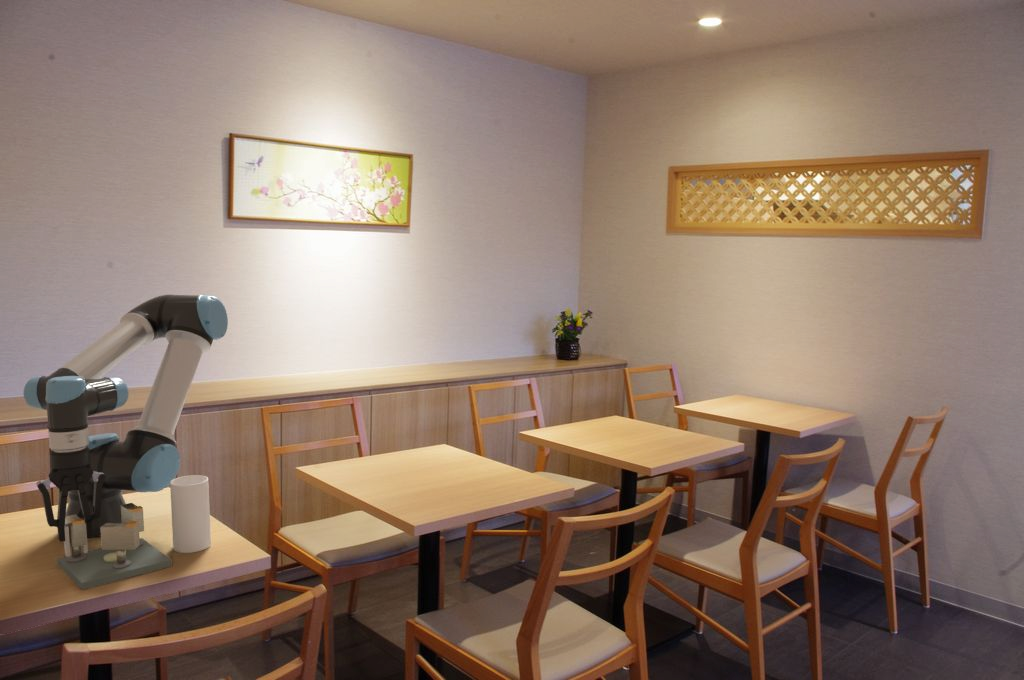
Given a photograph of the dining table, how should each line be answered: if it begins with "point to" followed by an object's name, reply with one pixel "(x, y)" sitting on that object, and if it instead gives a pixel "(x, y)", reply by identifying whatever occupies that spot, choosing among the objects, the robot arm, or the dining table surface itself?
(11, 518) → the dining table surface
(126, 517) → the knob
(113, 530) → the knob
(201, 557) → the dining table surface
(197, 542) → the cup
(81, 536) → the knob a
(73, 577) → the board
